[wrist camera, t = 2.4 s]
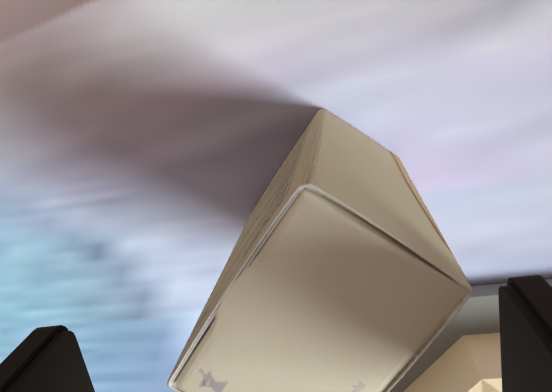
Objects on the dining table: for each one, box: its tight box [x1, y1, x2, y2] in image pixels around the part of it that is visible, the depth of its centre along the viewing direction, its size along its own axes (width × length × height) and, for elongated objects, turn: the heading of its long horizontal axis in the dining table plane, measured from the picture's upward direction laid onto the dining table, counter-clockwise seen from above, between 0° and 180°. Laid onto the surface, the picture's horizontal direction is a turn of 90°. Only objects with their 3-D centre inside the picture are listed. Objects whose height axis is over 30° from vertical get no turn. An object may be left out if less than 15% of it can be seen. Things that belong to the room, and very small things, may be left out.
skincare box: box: [167, 109, 473, 392], centre depth 16 cm, size 6×4×12 cm
